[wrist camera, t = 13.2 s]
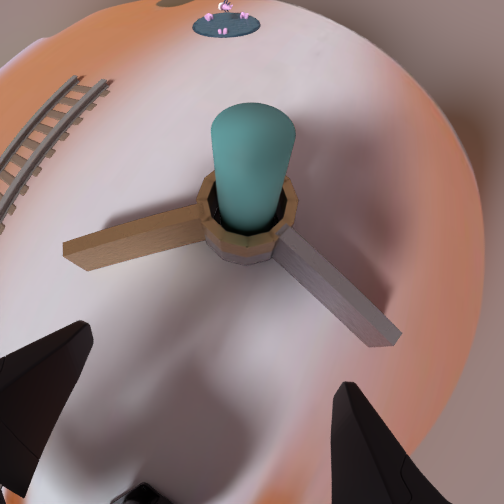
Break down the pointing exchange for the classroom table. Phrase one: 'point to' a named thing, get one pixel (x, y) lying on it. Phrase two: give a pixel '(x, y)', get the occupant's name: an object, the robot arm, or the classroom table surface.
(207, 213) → the bronze hinge leaf
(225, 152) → the teal hinge pin
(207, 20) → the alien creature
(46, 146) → the model train track
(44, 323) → the classroom table surface
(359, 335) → the steel hinge leaf
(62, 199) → the classroom table surface
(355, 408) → the robot arm
